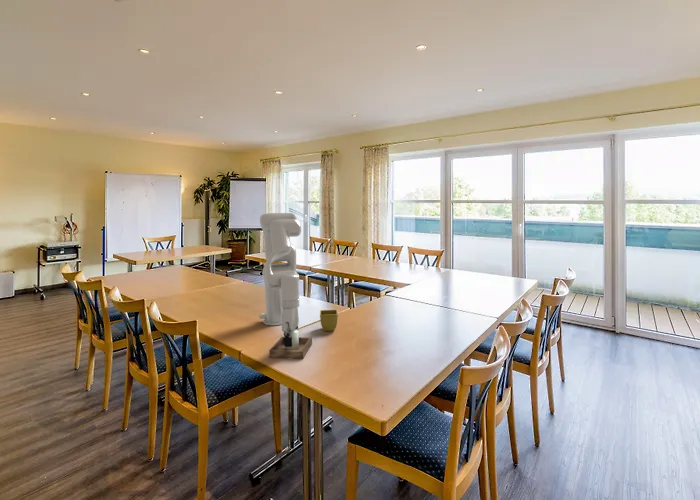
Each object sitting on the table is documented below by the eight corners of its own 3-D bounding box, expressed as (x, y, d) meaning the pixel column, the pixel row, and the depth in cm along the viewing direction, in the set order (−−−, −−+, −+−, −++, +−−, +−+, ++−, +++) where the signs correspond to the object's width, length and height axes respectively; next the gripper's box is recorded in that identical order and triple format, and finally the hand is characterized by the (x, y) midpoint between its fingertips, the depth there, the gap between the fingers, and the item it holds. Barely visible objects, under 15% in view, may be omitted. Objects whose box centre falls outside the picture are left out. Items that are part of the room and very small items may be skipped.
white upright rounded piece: (283, 351, 148) (282, 333, 147) (287, 346, 154) (286, 328, 153) (296, 352, 147) (296, 333, 147) (300, 346, 153) (300, 329, 152)
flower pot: (320, 327, 181) (319, 309, 180) (337, 326, 182) (336, 309, 181) (320, 332, 172) (319, 315, 171) (338, 332, 173) (337, 314, 172)
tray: (269, 357, 144) (269, 350, 143) (281, 343, 160) (281, 336, 159) (303, 359, 142) (302, 351, 142) (312, 344, 158) (311, 337, 158)
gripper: (287, 297, 157) (289, 334, 159) (274, 308, 140) (276, 349, 142) (304, 298, 157) (305, 335, 158) (293, 309, 139) (294, 350, 141)
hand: (291, 342), depth 150 cm, fingers open, 9 cm apart
